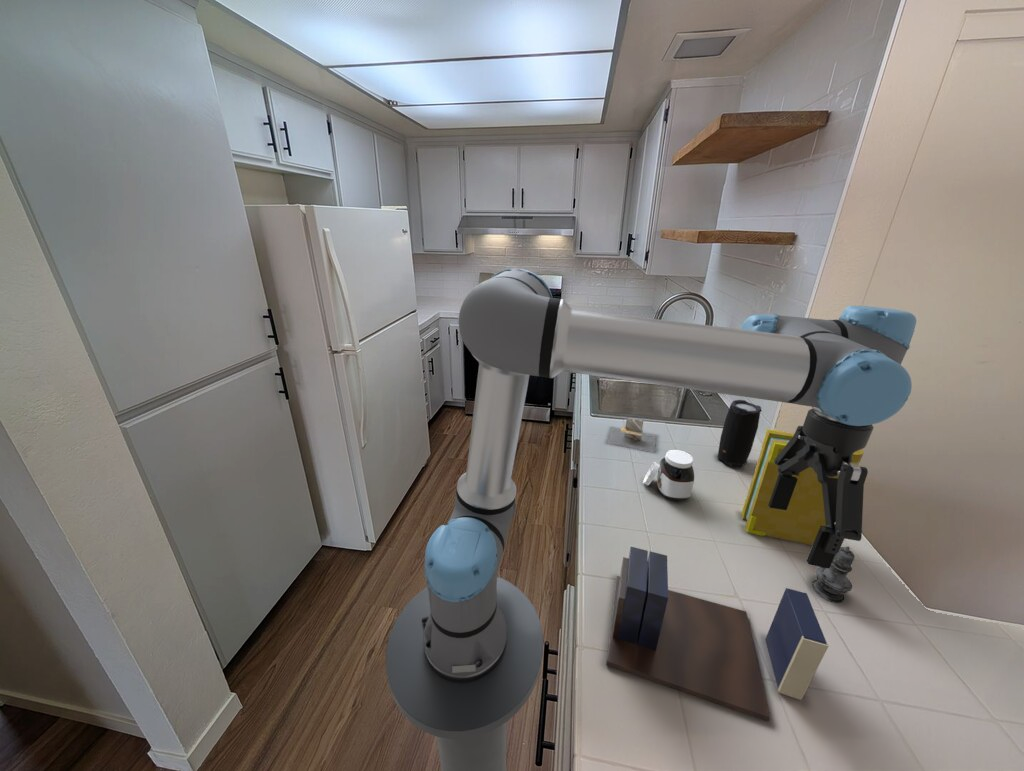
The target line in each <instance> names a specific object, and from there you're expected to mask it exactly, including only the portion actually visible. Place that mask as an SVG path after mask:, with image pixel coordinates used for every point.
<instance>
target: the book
mask: <svg viewBox="0 0 1024 771" xmlns="http://www.w3.org/2000/svg"><path fill="white" fill-rule="evenodd" d="M794 434H795V433H791V432H787V431H782V430H778V429H777V430H776V429H769V428H767V429H766V431H765V434H764V437H763V440H762V444H761V450H760V453H759V456H758V459H757V463H756V466H755V469H754V472H753V475H752V479H751V483H750V486H749V488H748V493H747V495H746V498H745V499H744V504H743V507H742V510H741V513H740V515H741V516H740V517H741V519H742V520H745V521H746V523H745V526H744V527H745V531H746V533H747V534H752V535H757V536H760V537H766V536H767V537H772V538H776V539H782V540H787V541H790V542H795V543H800V544H805V545H809V546H813V543H814V541H815V538H816V536H817V533H818V531H819V529H820V526H826V523H825V513H824V502H823V492H822V484H821V483H820V482H819V481H818V479H817V474H816V473H815V471H814V469H813V468H811V467H809V468H807V469H805V470H803V471H801V472H800V473H799V474H798V475H800V476H796V475H792V477H796V478H797V479H798V480H797V483H796V486H795V488H794V491H793V494H792V497H791V499H790V502H789V505H788V507H787V510H781V509H775V508H770V507H769V506H768V504H769V501H770V499H771V496H772V493H773V490H774V487H775V484H776V481H777V478H778V475H779V473H778V467H779V466H778V465H775V463H774V460H775V458H776V457H777V456H778V454H779V453H780V452H781V451H782V450H783V448H784V447H785V446H786V445H787V443H788V442H789V441H790V440H791V439H792V437H793V436H794ZM864 454H865V451H864V449H861V450H858V451H856V452H854V453H853V455H852V464H854V465H856V466H860V463H861V461H862V458H863V456H864ZM787 460H788V459H787ZM827 477H828V476H827ZM838 477H839V475H837V476H835V477H831V478H837V479H838Z"/></svg>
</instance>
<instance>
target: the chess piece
mask: <svg viewBox="0 0 1024 771" xmlns="http://www.w3.org/2000/svg"><path fill="white" fill-rule="evenodd" d="M855 558H856V556H855V553H854V552H853V551H852V550H851V548H850V546H845V547H844V546H841V548H840V550H839V552H838V553H837V554H835V557H834V559H833V561H832V564H831V566H830V568H824V567H819V566H817V567H816V568H815V571H814V572H815V578H816V579H814V580H812V581H811V582H812V583H811V587H812V589H813V590H814V591H815V593H816V594H817V595H819V596H820V597H821V598H822V599H824V600H826V601H829V602H830V603H836V604H840V603H843V602H844V601H845V599H846V598H845V594H847V593H848V592H851V591H852V590H853V588H854V587H853V583H852V581H851V580H850V578H849V577H848V574H849V573H851V572H852V571H853V568H852V565H853V563H854V560H855Z"/></svg>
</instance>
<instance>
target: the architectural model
mask: <svg viewBox="0 0 1024 771" xmlns="http://www.w3.org/2000/svg"><path fill="white" fill-rule="evenodd" d="M625 420H626V421H625V427H623V426H622V427H621V428H620V429H619V428H614V427H612V428H611V431H610V435H609V439H608V442H607V444H609V445H613V446H619V447H625V448H629V449H630V448H631V449H634V450H640V451H646V452H650V453H655V452H656V442H657V436H656V435H654V434H647V433H643V428H644V420H642V419H636V418H630V417H626V419H625Z"/></svg>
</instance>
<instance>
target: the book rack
mask: <svg viewBox="0 0 1024 771" xmlns="http://www.w3.org/2000/svg"><path fill="white" fill-rule="evenodd" d="M620 567H621V569H620V575H616V578H615V586H614V594H613V595H614V596H613V603H612V611H611V620H610V629H609V638H608V644H607V645H608V646H607V652H606V653H607V654H606V663H605V665H606V666H609V667H612V668H615V669H617V670H620V671H623V672H625V673H628V674H632V675H633V676H634V675H635V676H637V677H640V678H643V679H646V680H648V681H652V682H655V683H657V684H660V685H663V686H667V687H669V688H672V689H675V690H677V691H680V692H683V693H686V694H689V695H692V696H695V697H697V698H701V699H704V700H707V701H709V702H712V703H714V704H718V705H720V706H724V707H725V708H730V709H732V710H735V711H738V712H741V713H744V714H746V715H749V716H751V717H756V718H758V719H761V720H763V721H766V722H769V721H770V719H771V714H770V711H769V706H768V705H769V704H768V701H767V697H766V693H765V692H766V691H765V689H764V688H765V687H764V684H763V679H762V675H761V670H760V666H759V662H758V657H757V653H756V649H755V648H756V647H755V645H754V639H753V636H752V631H751V627H750V622H749V618H748V613H747V611H745V610H743V609H738V608H735V607H731V606H727V605H724V604H720V603H716V602H713V601H709V600H706V599H703V598H699V597H695V596H692V595H689V594H685V593H684V594H683V593H681V592H678V591H677V592H676V591H674V590H669V574H668V572H669V571H668V555H667V554H662V553H659V552H655V551H649V550H647V549H643V548H640V547H639V548H638V547H634V546H630V547H629V554H628V557H622V562H621V566H620Z"/></svg>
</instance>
